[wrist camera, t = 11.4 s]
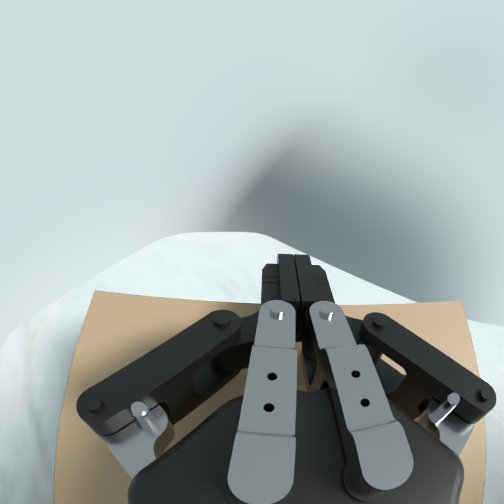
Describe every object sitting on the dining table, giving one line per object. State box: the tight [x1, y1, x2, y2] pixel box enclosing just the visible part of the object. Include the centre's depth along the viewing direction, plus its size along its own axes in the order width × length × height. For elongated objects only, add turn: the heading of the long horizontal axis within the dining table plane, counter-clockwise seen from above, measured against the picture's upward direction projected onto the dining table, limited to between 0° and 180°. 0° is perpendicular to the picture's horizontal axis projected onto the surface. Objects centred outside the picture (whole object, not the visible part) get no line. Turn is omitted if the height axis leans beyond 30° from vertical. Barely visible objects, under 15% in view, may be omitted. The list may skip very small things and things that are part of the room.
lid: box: [54, 290, 486, 504], centre depth 8 cm, size 16×21×1 cm
